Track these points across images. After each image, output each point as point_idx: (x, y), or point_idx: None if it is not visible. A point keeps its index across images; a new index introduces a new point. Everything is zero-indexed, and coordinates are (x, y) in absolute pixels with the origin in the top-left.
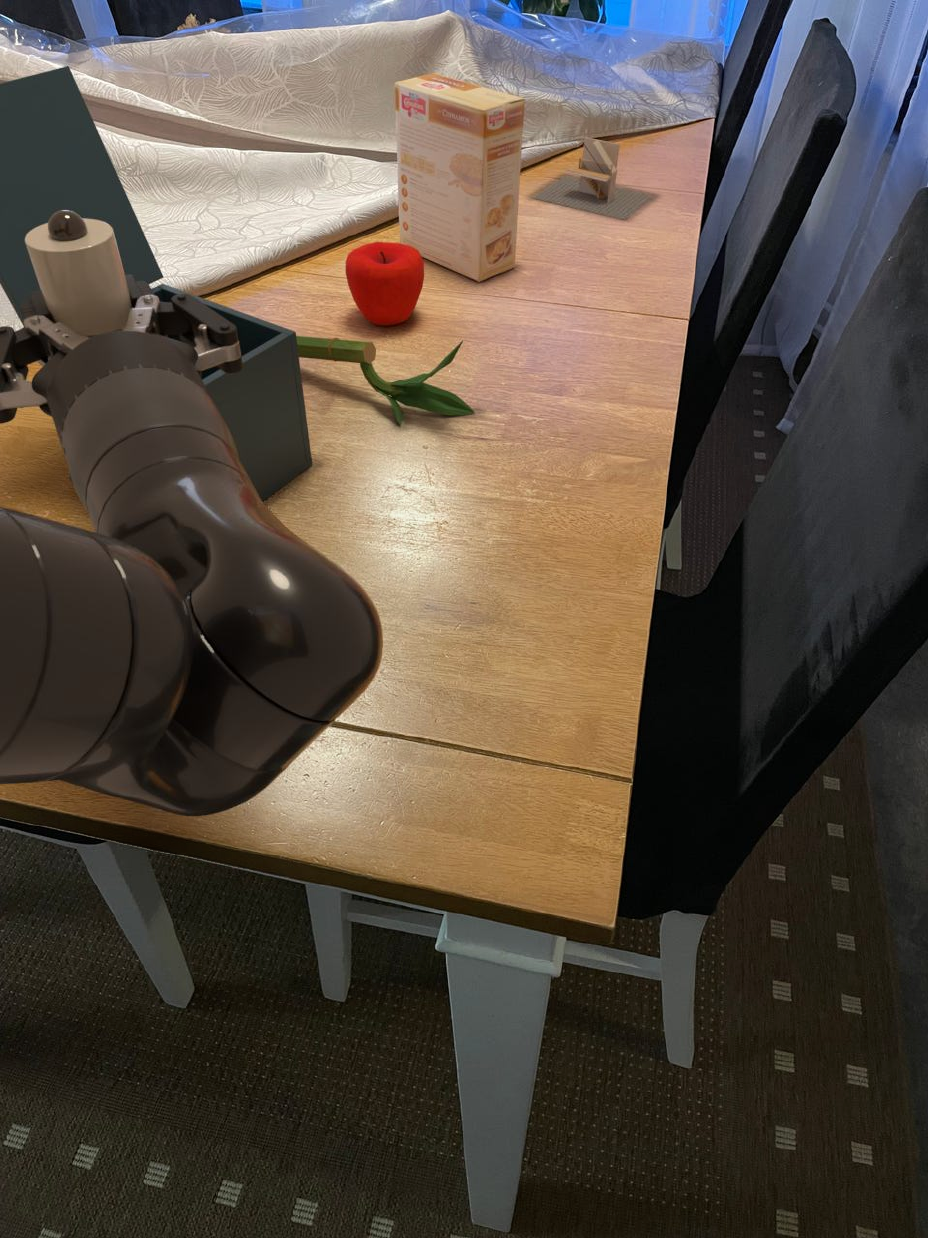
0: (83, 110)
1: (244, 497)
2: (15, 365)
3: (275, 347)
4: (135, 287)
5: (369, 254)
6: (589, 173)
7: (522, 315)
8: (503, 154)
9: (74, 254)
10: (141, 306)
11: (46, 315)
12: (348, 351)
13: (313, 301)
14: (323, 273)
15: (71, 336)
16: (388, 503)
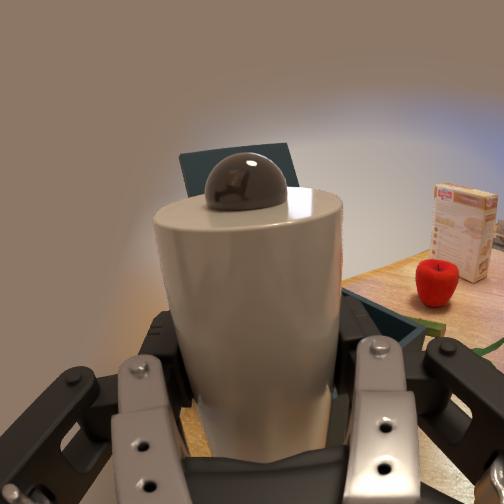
0: (290, 166)
1: None
2: (92, 437)
3: (413, 342)
4: (347, 313)
5: (430, 265)
6: (501, 234)
7: (501, 304)
8: (490, 219)
9: (240, 241)
10: (369, 371)
11: (169, 357)
12: (429, 329)
13: (390, 288)
14: (392, 273)
15: (162, 492)
16: None
